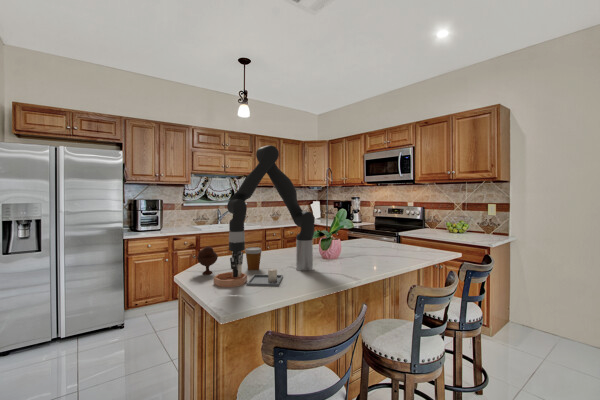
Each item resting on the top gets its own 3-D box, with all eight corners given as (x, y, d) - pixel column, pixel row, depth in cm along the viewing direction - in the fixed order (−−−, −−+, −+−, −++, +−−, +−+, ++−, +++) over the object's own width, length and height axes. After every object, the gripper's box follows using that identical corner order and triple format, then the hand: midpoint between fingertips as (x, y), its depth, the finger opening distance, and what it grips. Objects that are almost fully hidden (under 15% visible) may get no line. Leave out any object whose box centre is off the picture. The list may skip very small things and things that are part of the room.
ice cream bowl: (221, 271, 165) (221, 244, 165) (210, 277, 155) (210, 248, 154) (204, 270, 168) (204, 243, 168) (192, 275, 158) (192, 247, 157)
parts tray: (254, 277, 154) (254, 274, 154) (282, 278, 153) (282, 275, 153) (246, 286, 139) (246, 283, 139) (278, 287, 138) (278, 284, 138)
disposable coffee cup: (259, 272, 164) (259, 250, 164) (242, 271, 166) (242, 250, 165) (263, 267, 174) (263, 247, 173) (248, 267, 175) (248, 246, 175)
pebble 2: (268, 279, 148) (268, 268, 148) (277, 279, 147) (277, 268, 147) (267, 282, 143) (267, 271, 143) (276, 282, 143) (276, 271, 143)
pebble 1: (233, 274, 146) (233, 263, 146) (242, 275, 146) (242, 263, 146) (231, 277, 142) (231, 265, 142) (240, 277, 141) (240, 266, 141)
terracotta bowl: (221, 278, 152) (221, 271, 152) (249, 279, 151) (249, 272, 151) (210, 287, 137) (210, 280, 137) (241, 288, 136) (241, 280, 136)
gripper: (233, 238, 151) (233, 271, 151) (224, 242, 136) (224, 279, 137) (248, 238, 150) (248, 272, 151) (240, 243, 136) (240, 280, 136)
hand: (236, 275), depth 144 cm, fingers closed on pebble 1, 4 cm apart
